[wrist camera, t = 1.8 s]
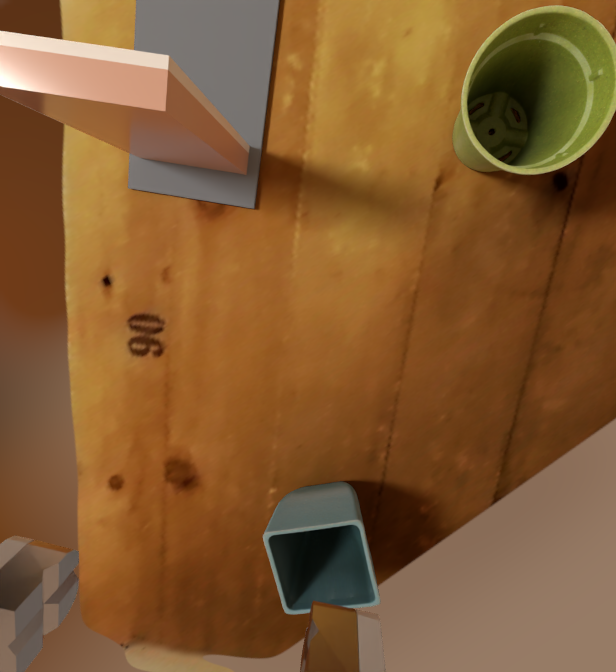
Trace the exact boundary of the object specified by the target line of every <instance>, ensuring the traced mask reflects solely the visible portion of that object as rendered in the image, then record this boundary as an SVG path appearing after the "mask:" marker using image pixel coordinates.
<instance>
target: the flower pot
mask: <svg viewBox="0 0 616 672" xmlns="http://www.w3.org/2000/svg"><path fill="white" fill-rule="evenodd" d="M263 541H264V544H265V547H266V550H267V554H268V557H269V560H270V564H271V567H272V570H273V574H274V577H275V581H276V584H277V588H278V592H279V595H280V598H281V602H282V606H283V609H284V611H285V612H286V613H287V614H303V613H310V610H311V605H312V602H313V601H318V602H323V603H328V604H333V605H338V606H343V607H348V608H361V607H370V606H375V605H378V604H380V602H381V601H380V595H379V591H378V586H377V581H376V576H375V571H374V567H373V562H372V558H371V554H370V550H369V546H368V542H367V538H366V533H365V529H364V525H363V520H362V515H361V511H360V506H359V501H358V497H357V494H356V492H355V490H354V488H353V487H352V486H351V485H350V484H348V483H346V482H341V481H340V482H334V483H328V484H321V485H314V486H308V487H302V488H299V489H296V490H294V491H292V492H290V493H289V494H287V495H286V496H285V497H284V498H283V499H282V500H281V501H280V502H279V504H278V506H277V507H276V509H275V511H274V513H273V515H272V518H271V520H270V522H269V524H268V526H267V528H266V530H265V533H264V535H263Z"/></svg>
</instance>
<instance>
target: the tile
mask: <svg viewBox="0 0 616 672" xmlns="http://www.w3.org/2000/svg"><path fill="white" fill-rule="evenodd" d="M0 95H2V96H4V97H7V98H9V99H11V100H13V101H15V102H18V103H20V104H22V105H24V106H26V107H29V108H31V109H33V110H35V111H37V112H40V113H42V114H45V115H46V116H48V117H51V118H53V119H55V120H57V121H60V122H62V123H64V124H66V125H68V126H71V127H73V128H75V129H77V130H79V131H82V132H84V133H86V134H88V135H90V136H93V137H95V138H97V139H99V140H101V141H104V142H106V143H108V144H110V145H112V146H115V147H117V148H119V149H121V150H124V151H126V152H128V153H130V154H132V155H135V156H137V157H139V158H144V159H150V160H156V161H163V162H169V163H175V164H182V165H188V166H194V167H200V168H207V169H213V170H219V171H226V172H232V173H238V174H244V175H246V174H247V166H248V157H249V148H250V146H249V145H248V144H247V142H246V141H245V140H244V139H243V138H242V137H241V136H240V135H239V134H238V132H237V131H236V130H235V129H234V128H233V127H232V126H231V125H230V123H229V122H228V121H227V120H226V119H225V118H224V117H223V116H222V114H221V113H220V112H219V111H218V110H217V109H216V108H215V107H214V105H213V104H212V103H211V102H210V101H209V100H208V99H207V98H206V96H205V95H204V94H203V93H202V92H201V91H200V90H199V89H198V88H197V86H196V85H195V84H194V83H193V82H192V81H191V80H190V79H189V77H188V76H187V75H186V74H185V73H184V72H183V71H182V70H181V68H180V67H179V66H178V65H177V64H176V63H175V62H174V61H173V59H172V58H171V57H170V56H169V55H163V54H156V53H149V52H142V51H135V50H128V49H121V48H114V47H107V46H101V45H94V44H87V43H80V42H73V41H66V40H59V39H52V38H45V37H39V36H32V35H25V34H18V33H11V32H4V31H0Z"/></svg>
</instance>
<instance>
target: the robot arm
mask: <svg viewBox="0 0 616 672" xmlns="http://www.w3.org/2000/svg"><path fill="white" fill-rule="evenodd" d="M78 564H79V551H76V550H73V549H69V548H65V547H61V546H57V545H53V544H49V543H45V542H41V541H37V540H32V539H28V538H23V537H19V536H13V537H11V538H9V539H6V540H5V541H4V542H3V543H2V544H0V672H24V671H25V670H26V669H27V667H28V666H29V665H30V664H31V662H32V661H33V659H34V658H35V657H36V656H37V654H38V653H39V652H40V650H41V649H42V648H43V637H44V635H45V634H47V633H49V632H50V631H52V630H53V629H55V628H57V627H58V626H59V625H60V624H61V622H62V621H63V619H64V618H65V617H66V615H67V614H68V612H69V610H70V608H71V606H72V604H73V602H74V600H75V598H76V594H77V590H78V580H79V579H78V577H77V576H76V574H75V573H74V571H73V570H74V568H75V567H76V566H77V565H78ZM300 672H386V669H385V660H384V651H383V641H382V632H381V623H380V618H379V616H378V614H375V613H370V612H366V611H361V610H355V609H353V608H348V607H343V606H338V605H333V604H328V603H323V602H318V601H313V602H312V605H311V610H310V616H309V626H308V628H307V629H306V634H305V640H304V645H303V651H302V658H301V667H300Z"/></svg>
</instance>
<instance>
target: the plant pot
mask: <svg viewBox="0 0 616 672" xmlns="http://www.w3.org/2000/svg"><path fill="white" fill-rule="evenodd" d="M481 102H482V103H484V106H482V107H481V108H479V109H477V110H476V111H475V112H473V113H472V114H471V115H469V111H470V110H471V109H473V108H474V107H475V106H476V105H477V104H479V103H481ZM511 108H513V109H515V110H516V111H517V112H518V114H519V116H520V122H519V123H517V122H516V119H515V116H514V114H513V113H512V110H511ZM615 110H616V44H615V42H614V40H613V39H612V37H611V35H610V34H609V32H608V31H607V30H606V29H605V27H604V26H603V25H602V24H601V23H600V22H599V21H598V20H595V19H594V18H593V17H592V16H590V15H588V14H587V13H585V12H583V11H581V10H578V9H575V8H571V7H567V6H558V5H557V6H546V7H540V8H535V9H531V10H528V11H525V12H523V13H520V14H518V15H516V16H515V17H513V18H511V19H510V20H508V21H507V22H505V23H504V24H503V25H501V26H500V27H499V28H498V29H496V30H495V31H494V32H493V33H492V34H491V35H490V36H489V37H488V38H487V40H486V41H485V42H484V43H483V44H482V46H481V47H480V49H479V50H478V51H477V53H476V55H475V57H474V58H473V60H472V62H471V64H470V67H469V69H468V71H467V74H466V77H465V80H464V84H463V88H462V95H461V110H460V112H459V115H458V117H457V119H456V122H455V125H454V130H453V146H454V150H455V152H456V154H457V156H458V158H459V159H460V160H461V162H462V163H463V164H465V165H466V166H467V167H469V168H471V169H473V170H477V171H481V172H492V171H499V170H504V171H506V172H510V173H514V174H519V175H536V174H543V173H547V172H551V171H554V170H557V169H559V168H562V167H564V166H566V165H568V164H570V163H571V162H573V161H575V160H576V159H577V158H579V157H580V156H582V155H583V154H584V153H585V152H587V151H588V150H589V149H590V148H591V147H592V146H593V145H594V144H595V143H596V142H597V140H598V139H599V138H600V137H601V135H602V134H603V132H604V131H605V130H606V128H607V126H608V125H609V123H610V121H611V119H612V117H613V115H614V113H615ZM490 129H494V130H495V133H494V134H493V135H489V133H488V132H489V130H490ZM509 151H511V155H510V156H509V157H508V158H506V159H505V160H504V161H502V162H501V161H499V160H497V159H499V158H501V157H503V156H504V155H506V154H507V153H508V152H509Z"/></svg>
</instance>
